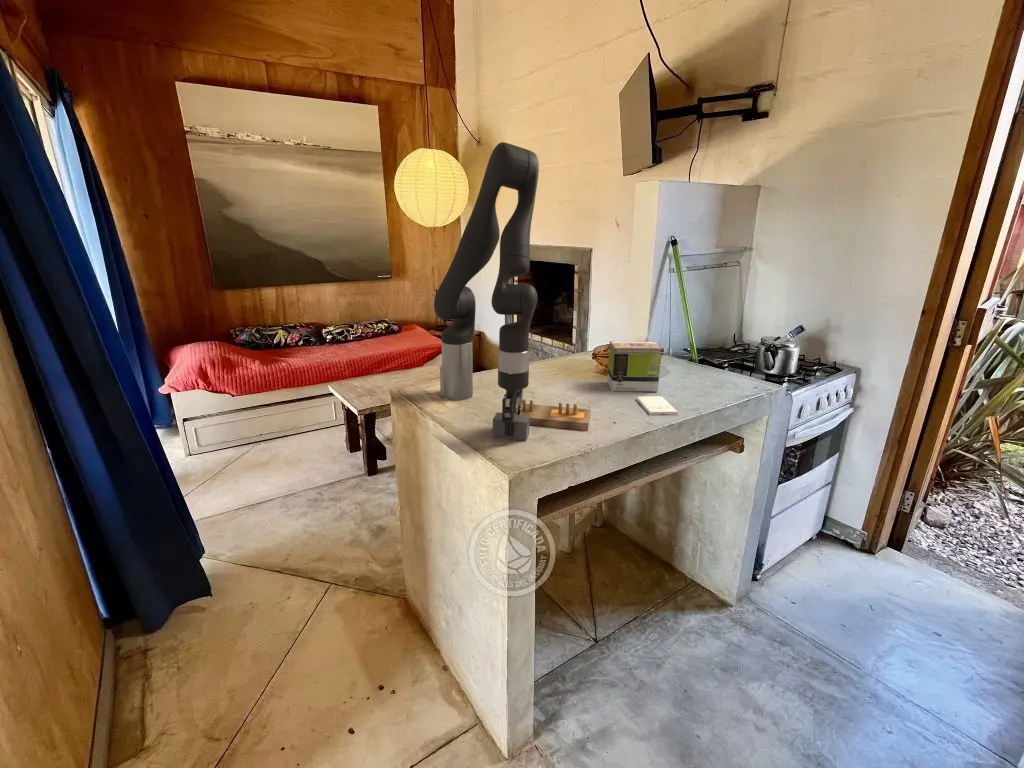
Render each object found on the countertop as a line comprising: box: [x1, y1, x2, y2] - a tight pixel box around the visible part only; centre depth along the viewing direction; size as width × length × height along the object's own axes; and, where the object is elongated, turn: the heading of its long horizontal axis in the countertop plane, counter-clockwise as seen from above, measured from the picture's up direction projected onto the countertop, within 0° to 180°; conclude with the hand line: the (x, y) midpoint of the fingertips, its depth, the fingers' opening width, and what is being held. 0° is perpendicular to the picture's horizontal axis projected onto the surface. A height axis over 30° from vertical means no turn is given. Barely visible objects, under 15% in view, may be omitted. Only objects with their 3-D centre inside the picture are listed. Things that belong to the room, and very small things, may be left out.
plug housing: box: [492, 412, 531, 442], centre depth 124 cm, size 9×5×5 cm, turn 79°
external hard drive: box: [635, 395, 679, 416], centre depth 146 cm, size 2×8×12 cm
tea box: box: [606, 340, 663, 393], centre depth 161 cm, size 15×10×15 cm
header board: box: [508, 398, 591, 431], centre depth 135 cm, size 22×10×5 cm, turn 79°
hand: (512, 428), depth 125 cm, fingers open, 8 cm apart
